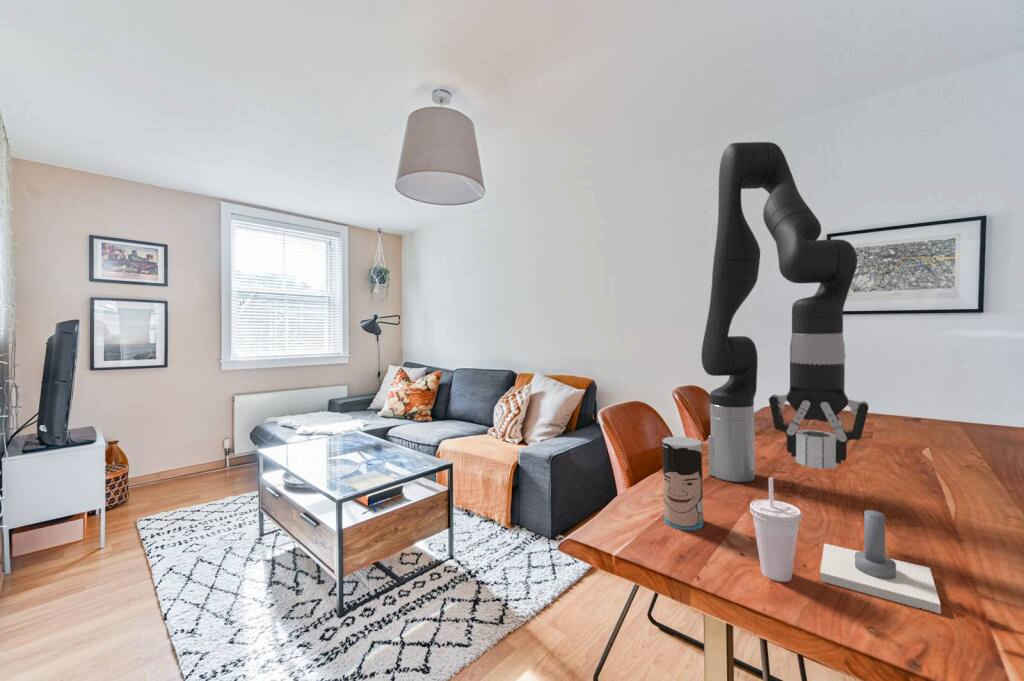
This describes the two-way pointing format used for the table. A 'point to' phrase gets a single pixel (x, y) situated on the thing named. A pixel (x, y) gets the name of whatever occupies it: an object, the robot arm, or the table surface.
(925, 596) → the shaft block
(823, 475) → the table surface
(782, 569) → the smoothie
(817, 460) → the ring
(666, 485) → the printed cylinder can
